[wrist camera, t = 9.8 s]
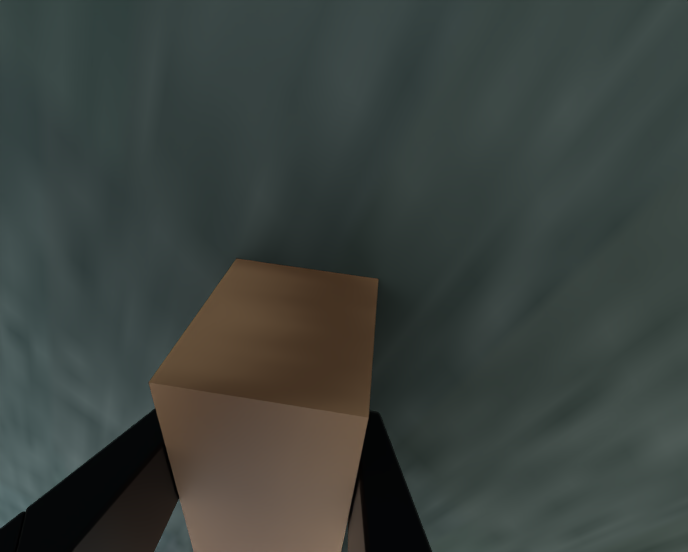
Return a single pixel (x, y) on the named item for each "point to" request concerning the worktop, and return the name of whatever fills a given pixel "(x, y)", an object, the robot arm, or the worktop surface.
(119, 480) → the robot arm
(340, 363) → the walnut bar
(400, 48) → the worktop surface
